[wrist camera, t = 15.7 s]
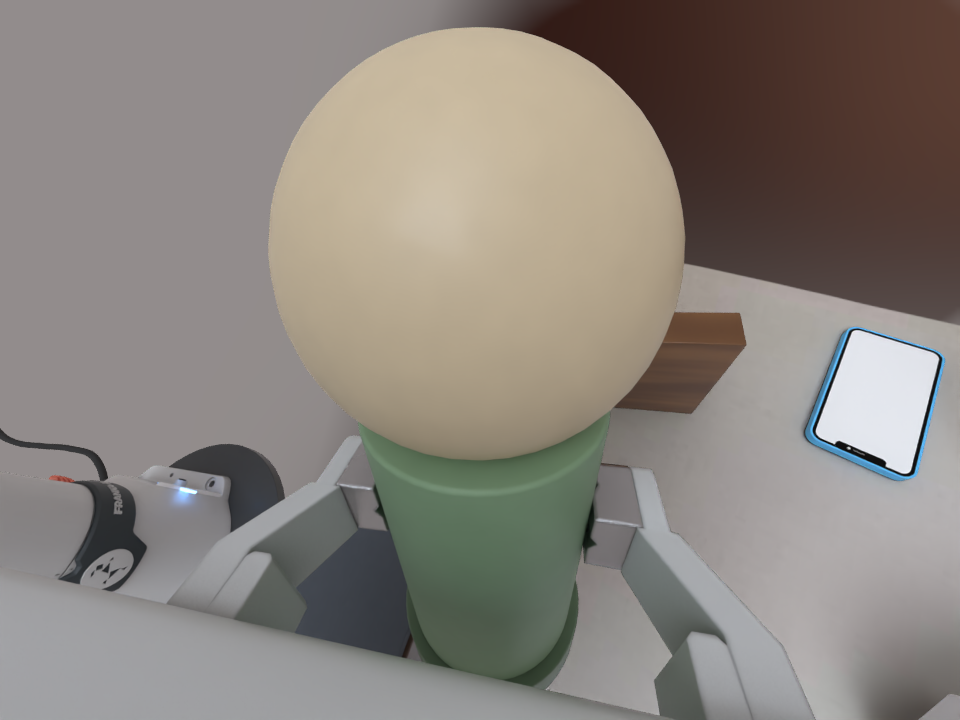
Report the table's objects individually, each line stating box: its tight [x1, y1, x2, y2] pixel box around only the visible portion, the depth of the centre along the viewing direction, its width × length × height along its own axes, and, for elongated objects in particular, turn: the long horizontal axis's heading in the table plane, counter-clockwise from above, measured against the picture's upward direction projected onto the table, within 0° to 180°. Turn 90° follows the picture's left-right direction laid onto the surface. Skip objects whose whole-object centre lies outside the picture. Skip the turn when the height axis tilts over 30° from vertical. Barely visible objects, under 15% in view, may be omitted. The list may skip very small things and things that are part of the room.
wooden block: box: [614, 312, 746, 414], centre depth 33 cm, size 3×10×14 cm, turn 79°
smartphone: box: [805, 327, 945, 481], centre depth 34 cm, size 8×1×15 cm
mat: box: [295, 528, 411, 657], centre depth 16 cm, size 8×8×1 cm
